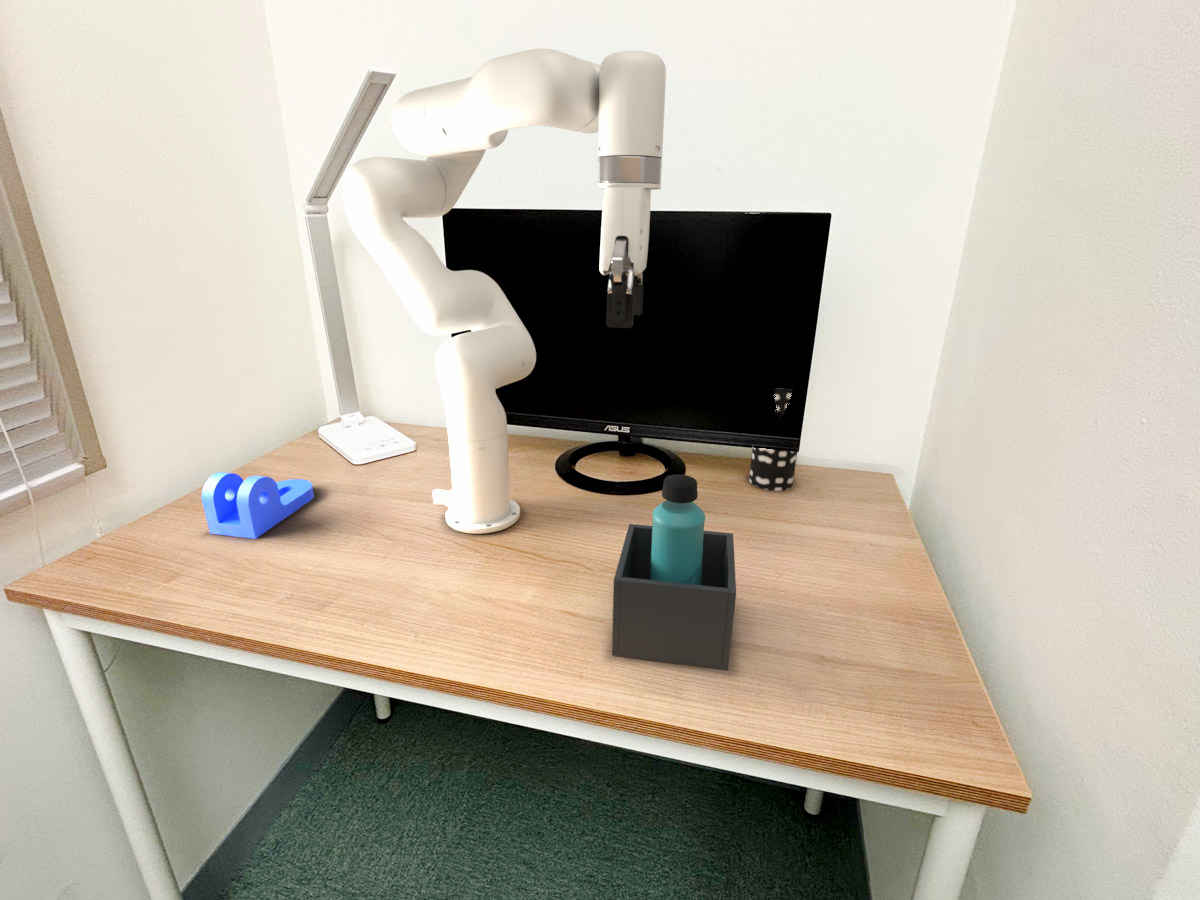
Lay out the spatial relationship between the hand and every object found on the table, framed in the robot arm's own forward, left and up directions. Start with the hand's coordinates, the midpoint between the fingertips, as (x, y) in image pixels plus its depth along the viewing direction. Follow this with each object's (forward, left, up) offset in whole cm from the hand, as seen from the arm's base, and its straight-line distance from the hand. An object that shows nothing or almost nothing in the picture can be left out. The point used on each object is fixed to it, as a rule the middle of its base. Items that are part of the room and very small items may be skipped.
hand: (625, 320), depth 80 cm
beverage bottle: (+9, -14, -36) cm, 39 cm away
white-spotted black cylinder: (+25, +35, -36) cm, 56 cm away
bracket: (-62, +5, -36) cm, 72 cm away
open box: (+9, -14, -36) cm, 40 cm away
